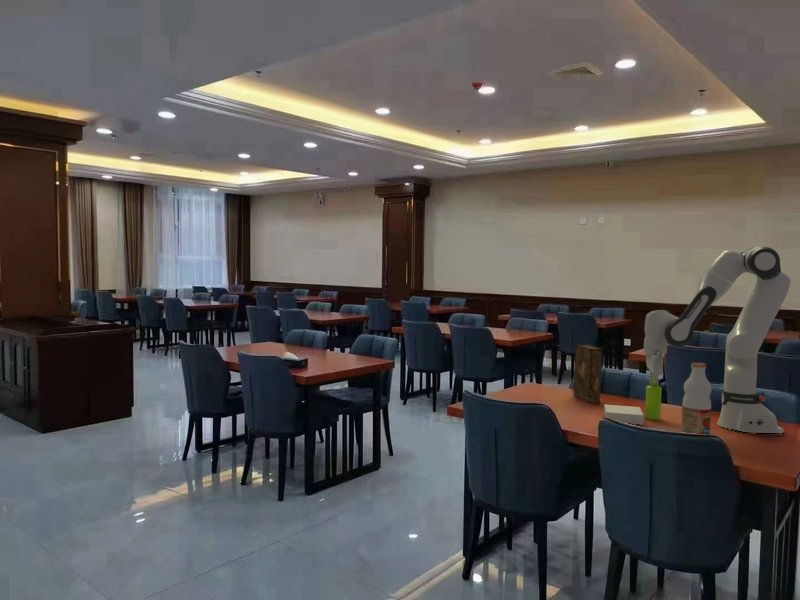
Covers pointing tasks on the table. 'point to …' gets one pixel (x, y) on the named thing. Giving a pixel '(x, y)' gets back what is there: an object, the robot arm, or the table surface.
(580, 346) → the book
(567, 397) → the table surface
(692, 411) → the fruit juice
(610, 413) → the plinth
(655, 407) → the soap dispenser
